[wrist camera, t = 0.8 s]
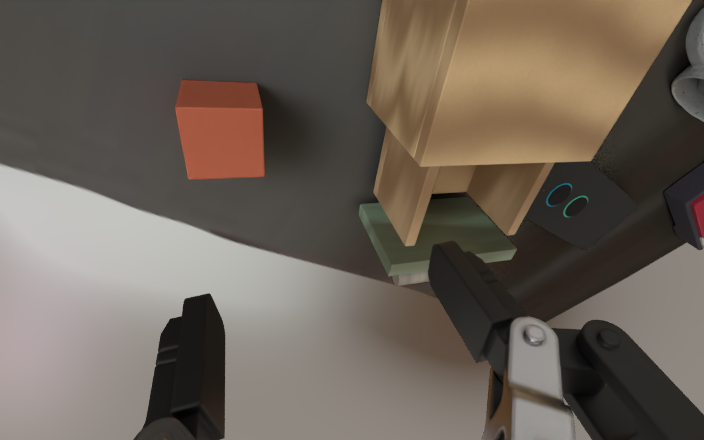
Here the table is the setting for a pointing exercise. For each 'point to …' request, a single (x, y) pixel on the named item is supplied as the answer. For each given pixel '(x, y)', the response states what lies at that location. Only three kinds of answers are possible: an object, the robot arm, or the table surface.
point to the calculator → (688, 207)
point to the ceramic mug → (692, 71)
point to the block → (221, 129)
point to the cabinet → (511, 75)
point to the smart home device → (579, 203)
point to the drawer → (445, 209)
